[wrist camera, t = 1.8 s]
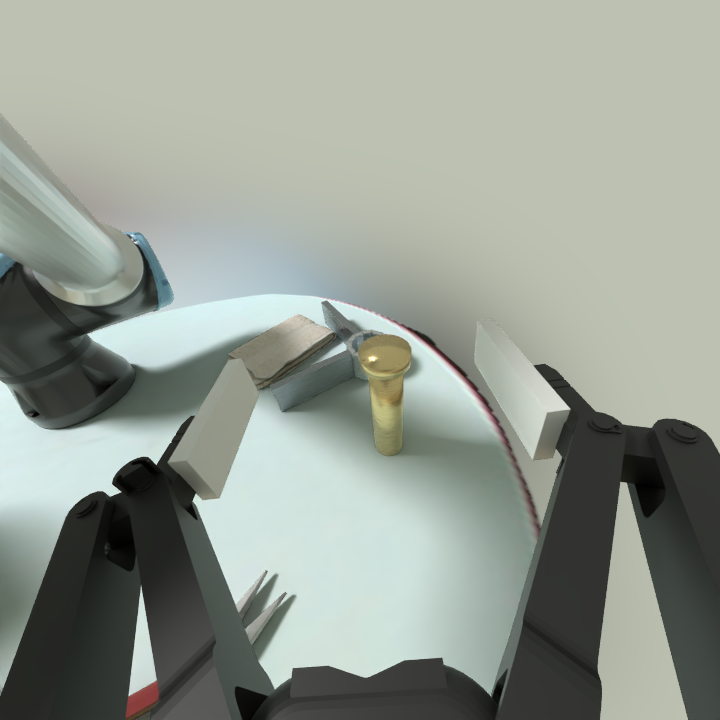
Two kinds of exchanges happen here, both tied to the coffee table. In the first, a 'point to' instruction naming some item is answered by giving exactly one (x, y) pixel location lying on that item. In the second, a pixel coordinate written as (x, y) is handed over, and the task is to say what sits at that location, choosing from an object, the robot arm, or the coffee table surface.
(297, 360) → the washcloth
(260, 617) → the pliers
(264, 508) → the coffee table surface
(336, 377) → the hinge
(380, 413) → the hinge pin
